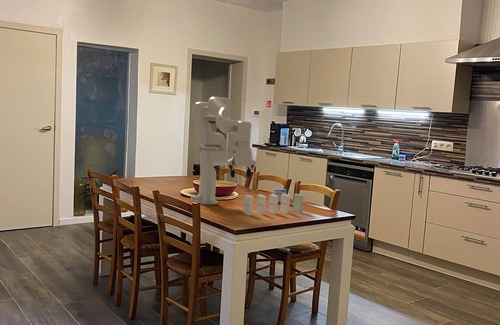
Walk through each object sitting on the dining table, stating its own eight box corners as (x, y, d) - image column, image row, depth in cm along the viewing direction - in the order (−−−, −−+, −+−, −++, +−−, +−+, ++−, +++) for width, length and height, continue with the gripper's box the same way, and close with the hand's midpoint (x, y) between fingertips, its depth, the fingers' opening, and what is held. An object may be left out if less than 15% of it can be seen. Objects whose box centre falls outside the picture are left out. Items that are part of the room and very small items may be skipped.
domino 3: (273, 214, 269) (275, 196, 268) (268, 211, 274) (269, 194, 273) (277, 213, 270) (278, 196, 269) (271, 211, 275) (272, 194, 274)
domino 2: (261, 214, 265) (263, 196, 264) (255, 212, 270) (257, 194, 269) (264, 214, 266) (266, 196, 265) (259, 212, 271) (260, 194, 270)
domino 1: (248, 215, 260) (250, 196, 259) (243, 213, 266) (244, 194, 265) (252, 215, 261) (253, 196, 260) (246, 212, 267) (247, 194, 266)
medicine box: (273, 203, 301) (274, 189, 300) (271, 202, 305) (272, 188, 304) (285, 203, 302) (287, 190, 302) (284, 202, 307) (285, 188, 306)
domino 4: (285, 213, 273) (287, 195, 272) (279, 211, 278) (281, 193, 277) (288, 213, 274) (290, 195, 273) (282, 211, 279) (284, 193, 278)
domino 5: (298, 212, 277) (300, 195, 276) (292, 210, 282) (294, 193, 281) (301, 212, 278) (303, 195, 277) (295, 210, 283) (297, 193, 282)
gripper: (231, 145, 249) (229, 178, 251) (260, 145, 258) (257, 178, 260) (224, 143, 255) (222, 176, 257) (253, 144, 264) (250, 175, 266)
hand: (240, 177), depth 258 cm, fingers open, 9 cm apart
